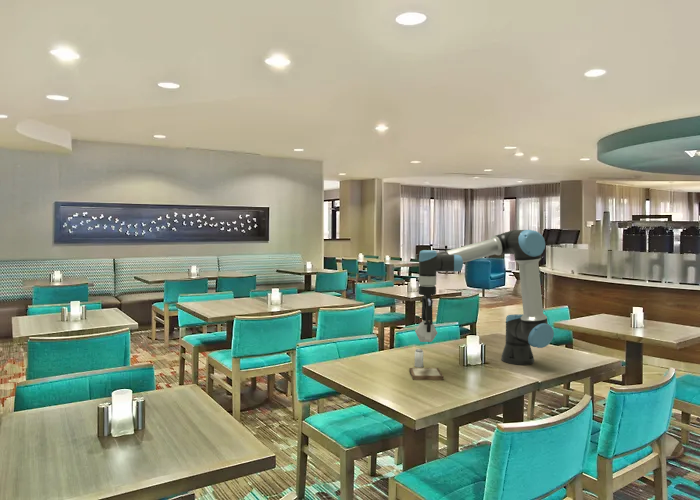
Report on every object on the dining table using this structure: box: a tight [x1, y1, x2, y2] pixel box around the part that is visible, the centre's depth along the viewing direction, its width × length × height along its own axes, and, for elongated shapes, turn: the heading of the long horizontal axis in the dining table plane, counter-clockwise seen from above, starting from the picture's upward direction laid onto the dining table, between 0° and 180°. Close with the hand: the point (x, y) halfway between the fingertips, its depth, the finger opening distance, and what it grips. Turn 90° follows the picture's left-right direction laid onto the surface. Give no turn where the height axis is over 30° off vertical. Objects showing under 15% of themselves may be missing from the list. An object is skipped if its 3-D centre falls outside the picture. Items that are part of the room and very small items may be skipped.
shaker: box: [414, 348, 424, 368], centre depth 236 cm, size 4×4×8 cm
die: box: [414, 321, 438, 343], centre depth 221 cm, size 8×9×10 cm
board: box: [408, 367, 444, 381], centre depth 222 cm, size 13×13×2 cm
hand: (426, 337), depth 221 cm, fingers closed on die, 8 cm apart
